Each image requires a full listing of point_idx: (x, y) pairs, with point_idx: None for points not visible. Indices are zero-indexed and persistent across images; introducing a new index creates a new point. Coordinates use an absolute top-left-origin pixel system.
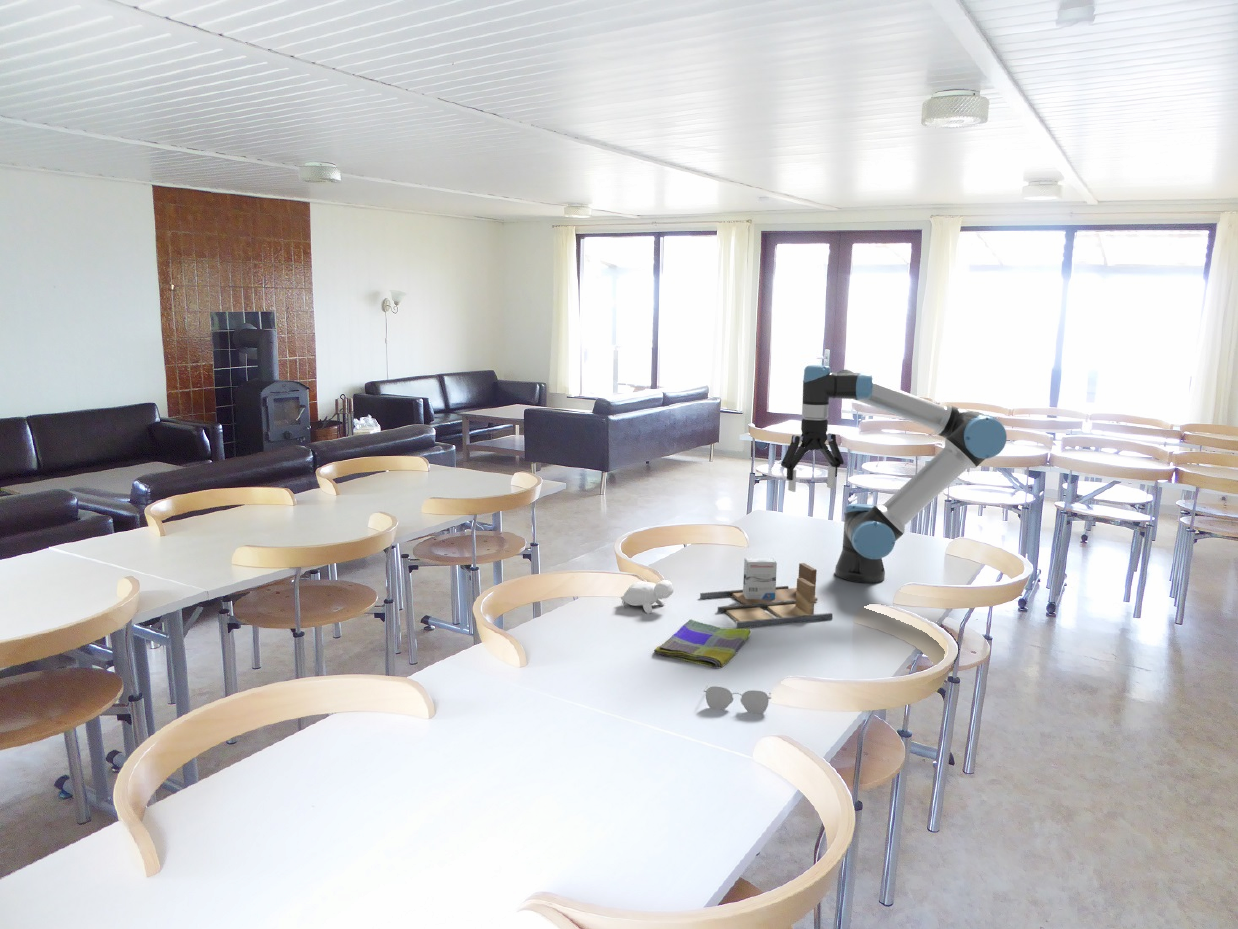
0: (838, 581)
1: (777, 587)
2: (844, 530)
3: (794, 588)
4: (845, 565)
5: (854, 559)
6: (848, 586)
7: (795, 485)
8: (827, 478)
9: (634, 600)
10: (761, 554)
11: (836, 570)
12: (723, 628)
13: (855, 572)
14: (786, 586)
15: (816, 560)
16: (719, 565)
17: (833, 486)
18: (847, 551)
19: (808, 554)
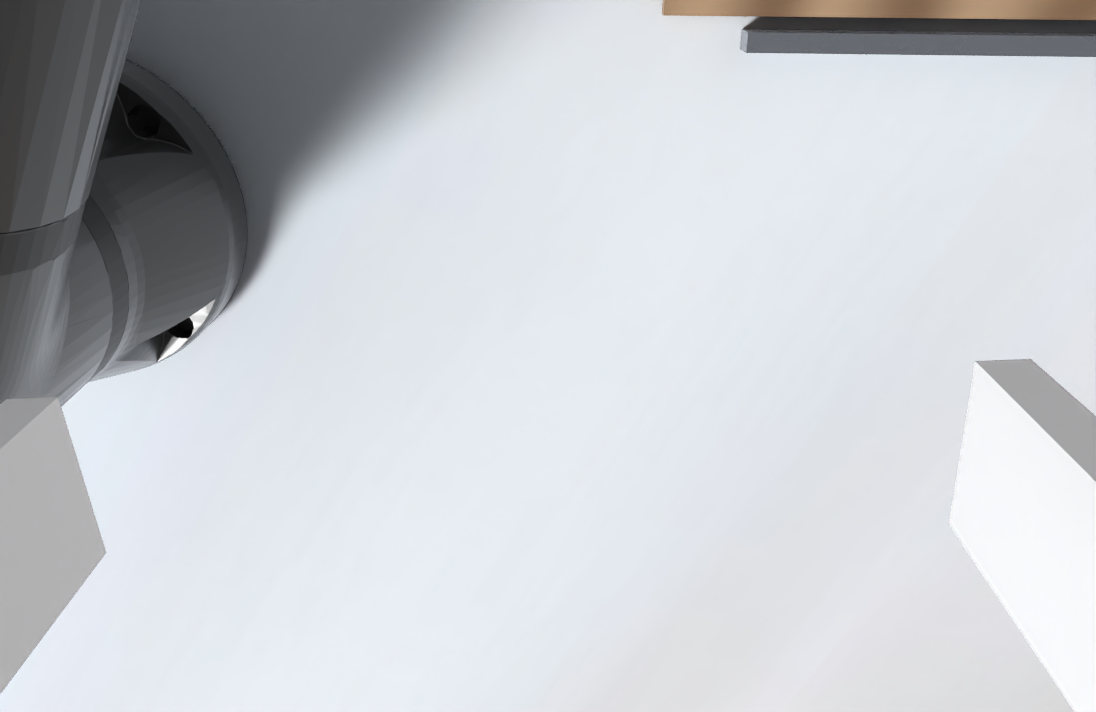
0: (285, 141)
1: (836, 34)
2: (47, 379)
3: (712, 7)
4: (184, 199)
5: (107, 164)
6: (267, 22)
7: (1044, 428)
8: (10, 679)
9: None
10: (500, 697)
11: (234, 263)
12: None
13: (140, 134)
14: (761, 38)
15: (232, 541)
16: (847, 590)
17: (5, 421)
18: (120, 247)
19: (229, 641)
